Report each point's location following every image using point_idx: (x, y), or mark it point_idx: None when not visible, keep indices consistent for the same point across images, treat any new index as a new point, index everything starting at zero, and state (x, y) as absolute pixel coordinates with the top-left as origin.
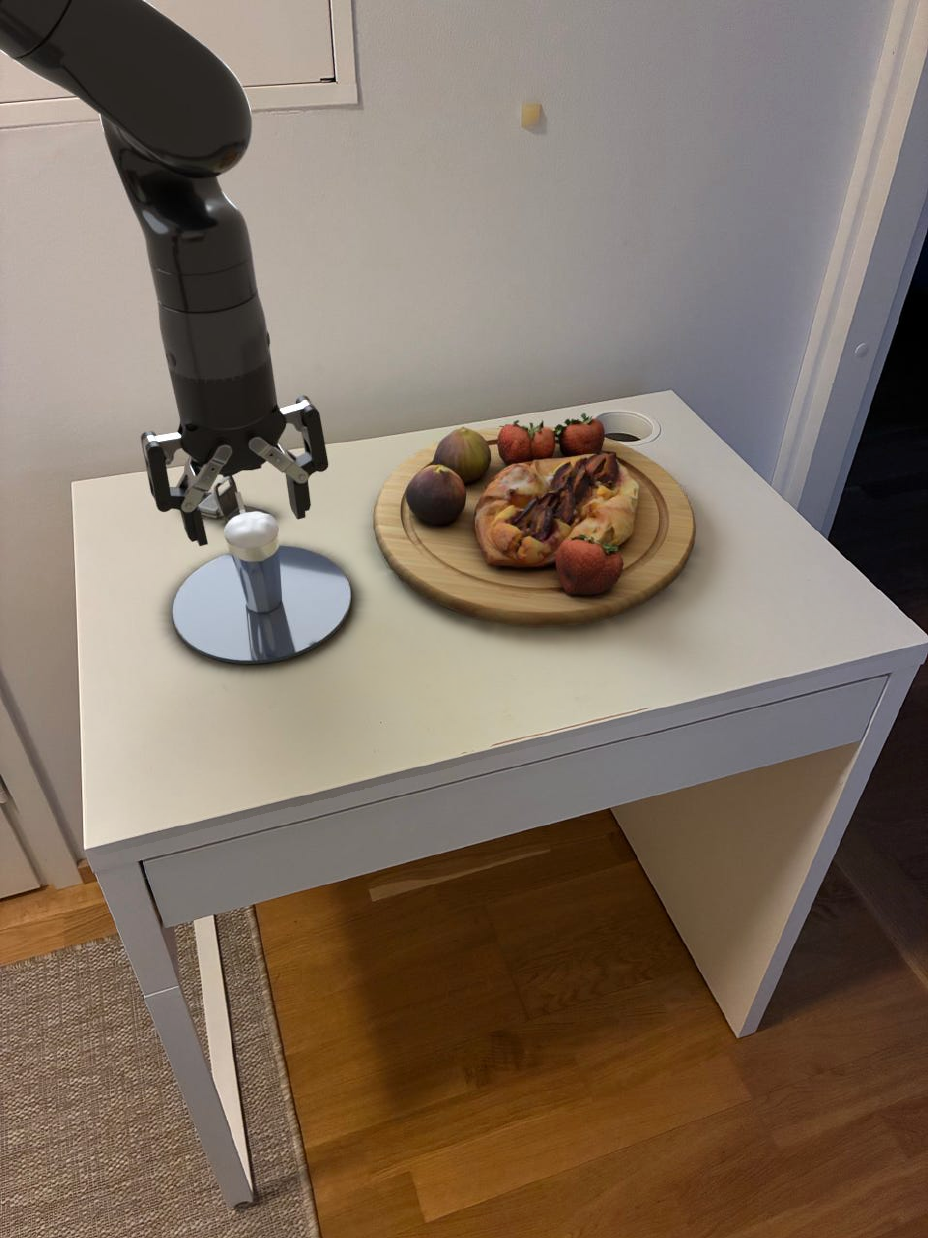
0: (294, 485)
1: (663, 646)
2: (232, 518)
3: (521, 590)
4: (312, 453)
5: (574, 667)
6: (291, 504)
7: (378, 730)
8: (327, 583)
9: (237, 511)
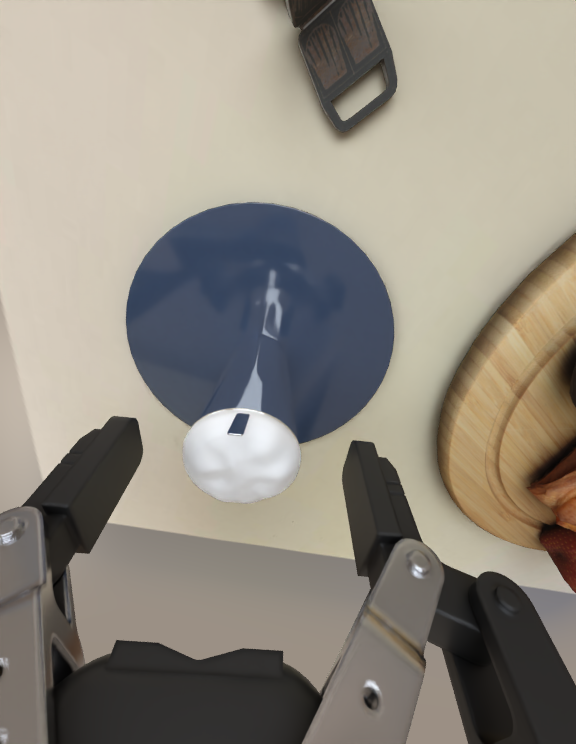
0: (361, 575)
1: (536, 555)
2: (207, 442)
3: (516, 506)
4: (462, 715)
5: (462, 543)
6: (353, 461)
7: (286, 525)
8: (356, 369)
9: (335, 13)
